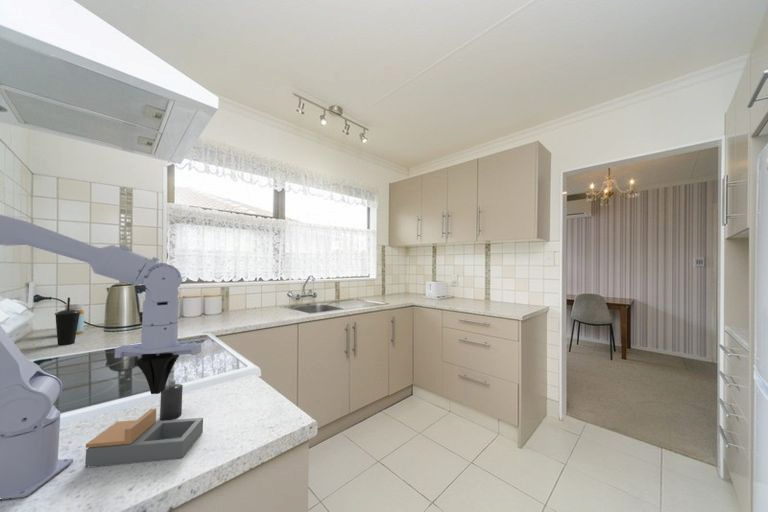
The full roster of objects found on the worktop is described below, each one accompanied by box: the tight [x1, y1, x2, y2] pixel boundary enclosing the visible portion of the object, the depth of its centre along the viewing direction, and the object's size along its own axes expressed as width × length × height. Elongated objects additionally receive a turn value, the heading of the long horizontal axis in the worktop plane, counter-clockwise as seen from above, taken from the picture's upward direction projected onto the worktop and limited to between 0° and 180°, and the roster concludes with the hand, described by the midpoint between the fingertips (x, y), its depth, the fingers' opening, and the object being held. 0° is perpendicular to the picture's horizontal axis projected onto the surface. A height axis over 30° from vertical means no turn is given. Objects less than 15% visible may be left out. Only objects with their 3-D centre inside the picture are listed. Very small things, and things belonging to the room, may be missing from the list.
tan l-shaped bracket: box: [85, 408, 157, 449], centre depth 53 cm, size 7×7×3 cm
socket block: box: [84, 417, 204, 468], centre depth 53 cm, size 15×8×3 cm, turn 100°
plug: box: [159, 379, 184, 421], centre depth 65 cm, size 4×4×8 cm
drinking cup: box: [54, 297, 81, 346], centre depth 122 cm, size 8×8×20 cm
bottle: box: [64, 302, 85, 335], centre depth 139 cm, size 7×7×15 cm
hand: (157, 391), depth 56 cm, fingers closed
